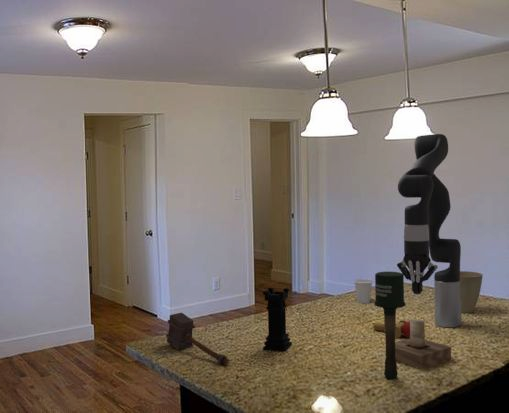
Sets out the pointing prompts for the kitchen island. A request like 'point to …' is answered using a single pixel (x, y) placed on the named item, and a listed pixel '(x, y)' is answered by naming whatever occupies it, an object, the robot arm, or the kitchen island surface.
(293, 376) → the kitchen island surface
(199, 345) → the hammer
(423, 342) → the peg
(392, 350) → the potato masher grenade
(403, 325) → the kendama
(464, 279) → the plant pot
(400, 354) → the block
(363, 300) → the dixie cup
